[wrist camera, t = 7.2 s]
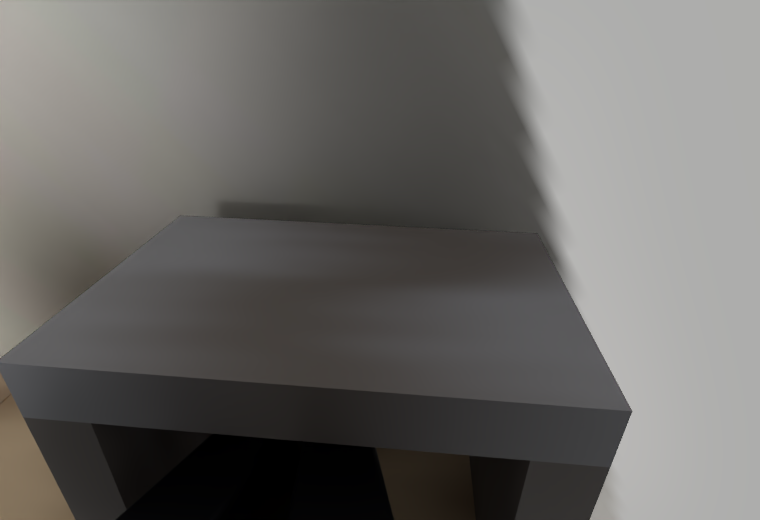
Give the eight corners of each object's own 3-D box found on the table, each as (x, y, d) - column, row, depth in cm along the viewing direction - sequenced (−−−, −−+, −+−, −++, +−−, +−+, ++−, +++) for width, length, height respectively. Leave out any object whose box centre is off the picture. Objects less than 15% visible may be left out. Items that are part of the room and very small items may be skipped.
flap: (534, 218, 8) (642, 412, 4) (498, 405, 11) (544, 649, 6) (-16, 191, 9) (-383, 333, 5) (60, 370, 11) (-148, 571, 7)
